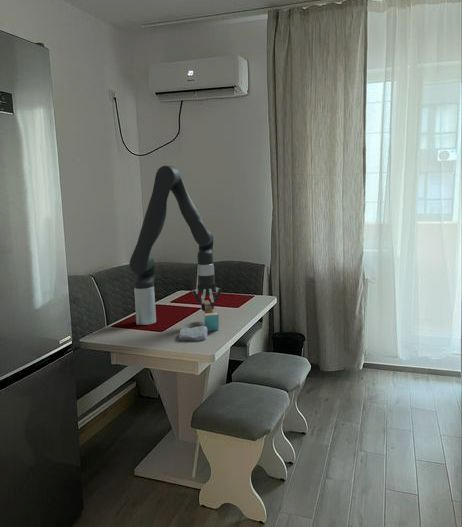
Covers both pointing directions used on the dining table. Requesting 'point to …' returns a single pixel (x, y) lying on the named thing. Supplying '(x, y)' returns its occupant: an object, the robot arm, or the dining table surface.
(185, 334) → the stone block
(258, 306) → the dining table surface
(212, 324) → the tile
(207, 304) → the spatula
